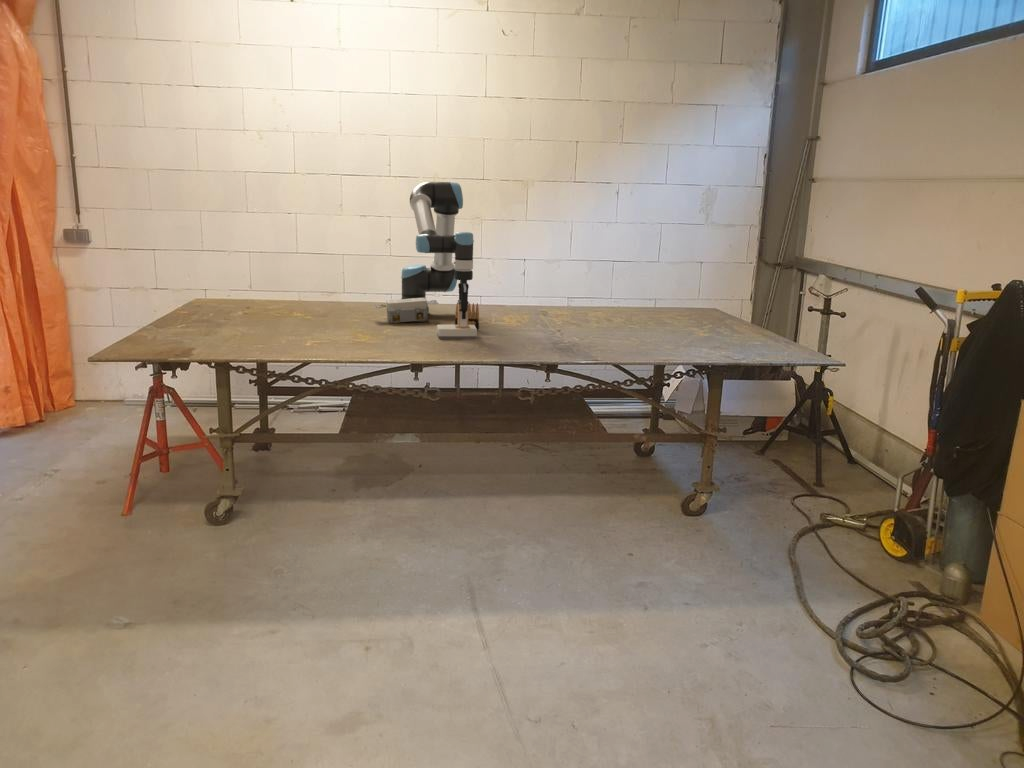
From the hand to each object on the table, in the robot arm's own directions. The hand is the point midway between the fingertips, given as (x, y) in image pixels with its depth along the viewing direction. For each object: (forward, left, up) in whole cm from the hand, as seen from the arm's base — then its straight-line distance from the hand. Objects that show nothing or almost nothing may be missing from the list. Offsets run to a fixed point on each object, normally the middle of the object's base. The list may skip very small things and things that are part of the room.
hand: (462, 325), depth 318 cm
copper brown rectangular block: (0, 0, -2) cm, 2 cm away
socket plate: (0, -3, -5) cm, 5 cm away
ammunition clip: (-15, +3, -5) cm, 16 cm away
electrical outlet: (-35, -22, -5) cm, 42 cm away
